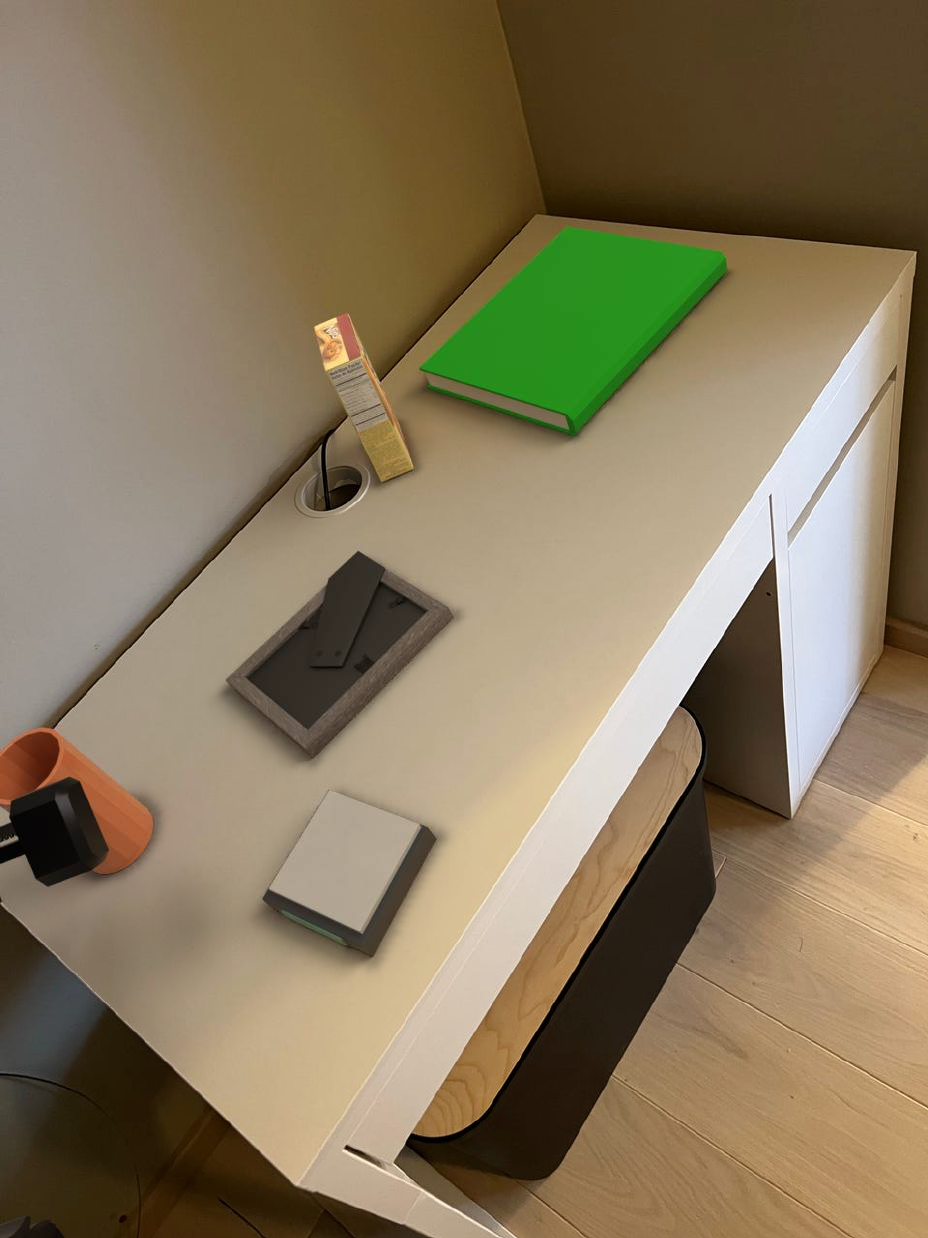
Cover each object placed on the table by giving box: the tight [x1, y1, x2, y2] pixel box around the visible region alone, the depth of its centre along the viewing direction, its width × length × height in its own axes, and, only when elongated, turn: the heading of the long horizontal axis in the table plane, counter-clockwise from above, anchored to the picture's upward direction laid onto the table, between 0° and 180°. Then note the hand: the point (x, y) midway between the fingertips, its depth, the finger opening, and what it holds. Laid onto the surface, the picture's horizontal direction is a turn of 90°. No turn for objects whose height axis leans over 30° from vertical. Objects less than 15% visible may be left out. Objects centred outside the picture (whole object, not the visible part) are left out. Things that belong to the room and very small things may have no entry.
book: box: [418, 226, 728, 437], centre depth 109 cm, size 22×28×3 cm
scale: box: [261, 789, 437, 958], centre depth 75 cm, size 10×10×3 cm
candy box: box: [313, 312, 414, 483], centre depth 101 cm, size 9×4×15 cm, turn 15°
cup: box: [0, 727, 154, 875], centre depth 80 cm, size 7×7×13 cm
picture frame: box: [225, 550, 454, 759], centre depth 90 cm, size 13×2×18 cm
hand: (27, 831), depth 73 cm, fingers open, 9 cm apart
